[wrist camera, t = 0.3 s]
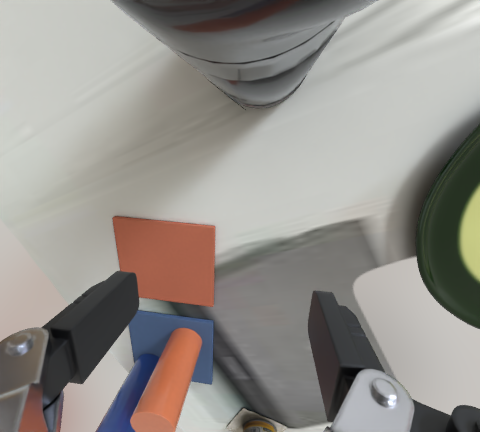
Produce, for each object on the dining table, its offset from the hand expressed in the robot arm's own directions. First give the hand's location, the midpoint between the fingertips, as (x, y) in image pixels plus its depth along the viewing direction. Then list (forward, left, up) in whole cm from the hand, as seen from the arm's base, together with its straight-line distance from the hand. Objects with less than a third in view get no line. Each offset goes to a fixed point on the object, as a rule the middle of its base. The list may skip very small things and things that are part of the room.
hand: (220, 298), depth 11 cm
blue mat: (+26, -10, -18) cm, 33 cm away
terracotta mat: (+10, -10, -18) cm, 23 cm away
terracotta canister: (+23, -8, -17) cm, 30 cm away
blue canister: (+30, -14, -17) cm, 37 cm away
